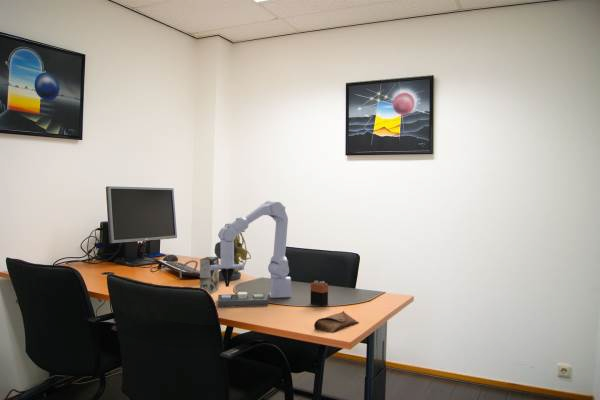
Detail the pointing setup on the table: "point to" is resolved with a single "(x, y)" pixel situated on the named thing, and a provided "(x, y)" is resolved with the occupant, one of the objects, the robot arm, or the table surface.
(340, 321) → the sunglasses case
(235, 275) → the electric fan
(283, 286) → the robot arm
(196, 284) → the table surface
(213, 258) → the coffee box
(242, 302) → the button panel
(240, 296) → the ivory button
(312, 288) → the battery
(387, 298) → the table surface
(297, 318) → the table surface
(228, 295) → the blue button
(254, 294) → the green button
